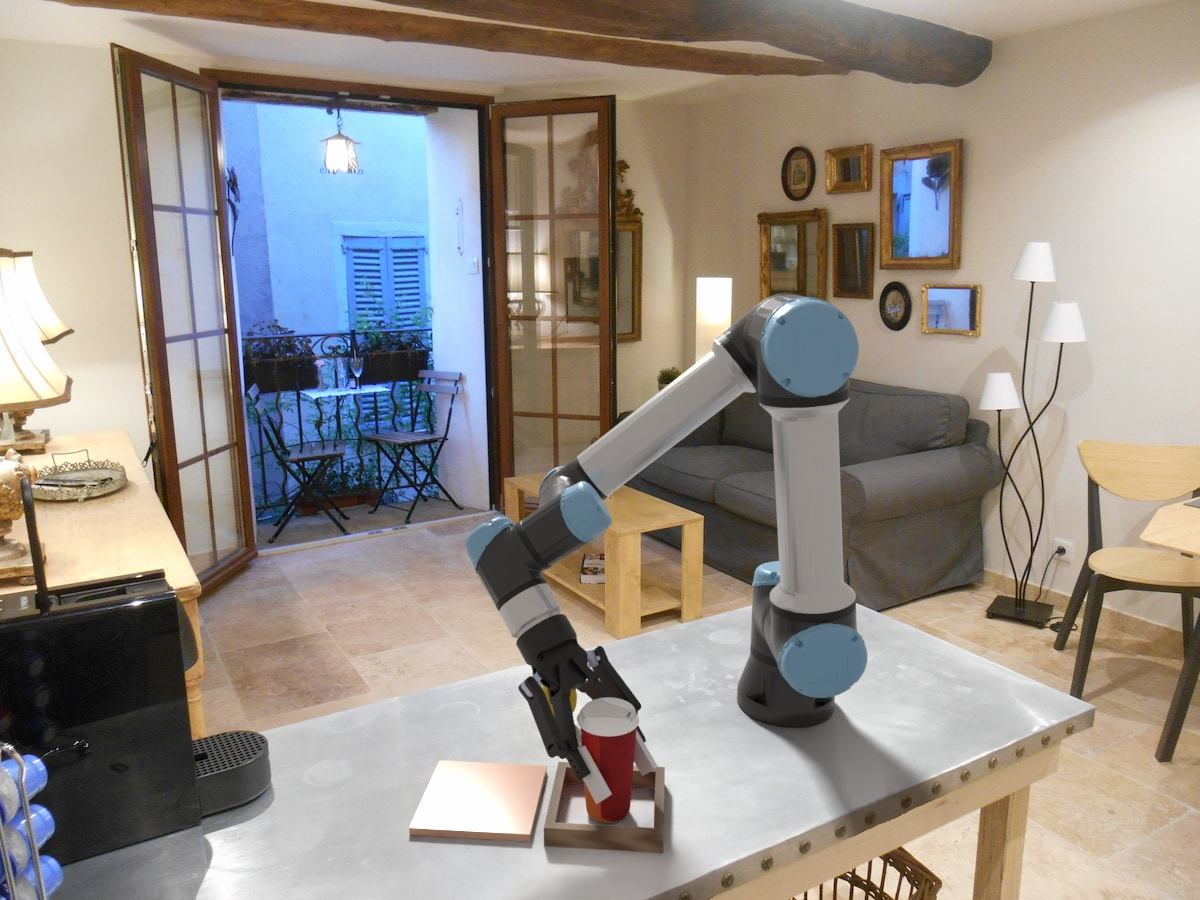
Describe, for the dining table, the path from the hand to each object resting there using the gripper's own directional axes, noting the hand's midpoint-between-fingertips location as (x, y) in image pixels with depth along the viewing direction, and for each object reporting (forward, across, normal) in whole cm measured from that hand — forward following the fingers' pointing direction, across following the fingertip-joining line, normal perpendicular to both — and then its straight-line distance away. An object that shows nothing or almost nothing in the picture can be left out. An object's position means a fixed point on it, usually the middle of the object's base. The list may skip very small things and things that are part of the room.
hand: (627, 784), depth 115 cm
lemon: (-13, -11, -21) cm, 27 cm away
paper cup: (+1, 0, -6) cm, 6 cm away
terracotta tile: (-8, +10, -16) cm, 20 cm away
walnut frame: (+2, 0, -6) cm, 7 cm away
